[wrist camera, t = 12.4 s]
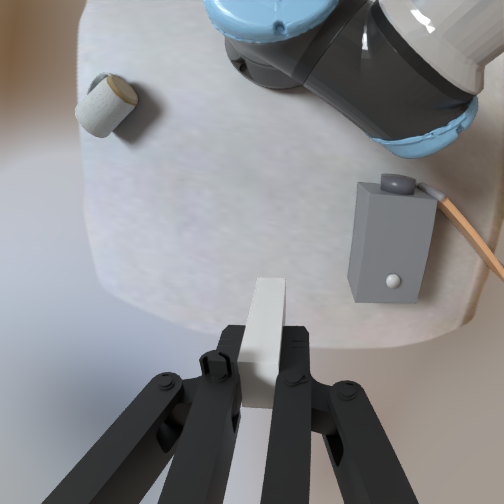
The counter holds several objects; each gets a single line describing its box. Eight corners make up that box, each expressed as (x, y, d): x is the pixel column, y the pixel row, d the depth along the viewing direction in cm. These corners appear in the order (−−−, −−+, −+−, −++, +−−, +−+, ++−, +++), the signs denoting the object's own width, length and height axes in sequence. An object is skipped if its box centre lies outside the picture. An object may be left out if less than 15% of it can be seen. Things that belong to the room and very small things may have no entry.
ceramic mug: (148, 103, 44) (124, 101, 37) (115, 137, 46) (88, 141, 39) (115, 62, 41) (89, 55, 34) (84, 95, 44) (57, 94, 37)
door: (417, 186, 43) (437, 198, 36) (424, 176, 43) (446, 187, 35) (489, 268, 46) (510, 289, 39) (496, 260, 46) (517, 280, 38)
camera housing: (358, 169, 44) (372, 179, 36) (418, 175, 43) (441, 186, 35) (347, 277, 51) (355, 305, 43) (401, 279, 50) (417, 306, 42)
